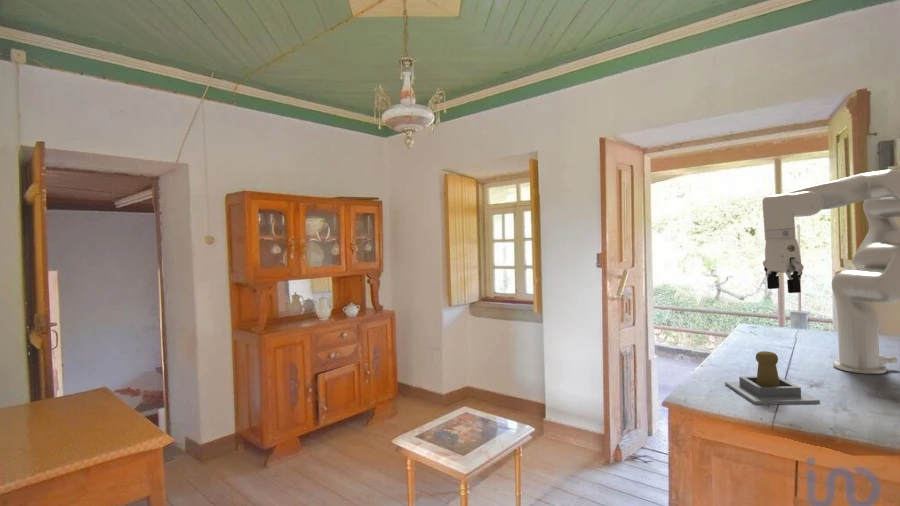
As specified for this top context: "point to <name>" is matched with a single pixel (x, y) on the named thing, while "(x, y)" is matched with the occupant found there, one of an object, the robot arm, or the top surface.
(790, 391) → the bay base
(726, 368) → the top surface
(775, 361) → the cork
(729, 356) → the top surface
